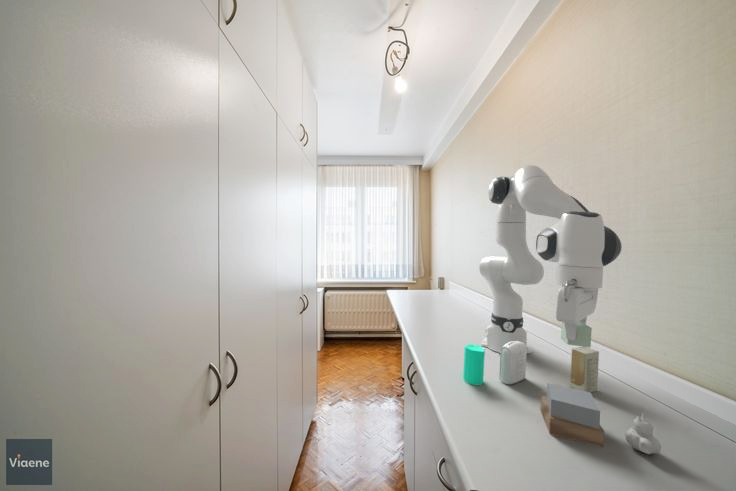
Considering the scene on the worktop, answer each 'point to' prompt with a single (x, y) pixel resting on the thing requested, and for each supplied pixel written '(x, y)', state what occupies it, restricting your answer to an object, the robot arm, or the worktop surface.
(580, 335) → the sage cube
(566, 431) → the walnut block
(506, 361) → the photo printer
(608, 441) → the worktop surface
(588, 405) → the gray block
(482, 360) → the candle
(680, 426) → the worktop surface
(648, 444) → the white figurine
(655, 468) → the worktop surface
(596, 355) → the skincare box
